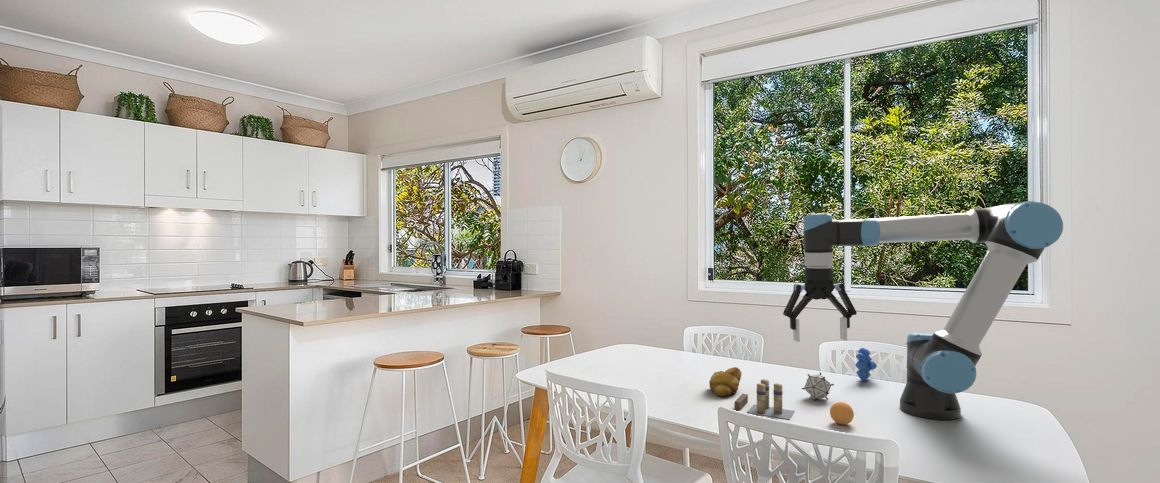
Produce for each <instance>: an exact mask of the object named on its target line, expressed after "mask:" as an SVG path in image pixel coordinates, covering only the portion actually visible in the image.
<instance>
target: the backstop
mask: <svg viewBox="0 0 1160 483" xmlns="http://www.w3.org/2000/svg"><path fill="white" fill-rule="evenodd" d="M748 396H749V395H748V394H747V393H742V394H741V395H740V396H738V398H737V399H736V400H735V401H734V411H739V412H740V411H741V410H742V409H743V408H744V407H745V406H746V405H747V404H748V402H749V400H748V399H749V397H748Z"/></svg>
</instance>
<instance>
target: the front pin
mask: <svg viewBox="0 0 1160 483" xmlns="http://www.w3.org/2000/svg"><path fill="white" fill-rule="evenodd" d="M783 392H784V391H783V384H781V383H773V393H772V394H773V407H774V413H776V414H782V409H783Z"/></svg>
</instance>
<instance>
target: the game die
mask: <svg viewBox="0 0 1160 483" xmlns="http://www.w3.org/2000/svg"><path fill="white" fill-rule="evenodd" d="M807 376H808V378H807V379H806V383H805V385H804V387H802V388H801V390H805V391H806V392H807V394H809V395H810V397H812V398H813V401H814V402H816V400H817V399H825V400H829V397H827V396H828V395H830V389H831V387H832V386H834V385H835V384H834V383H831V382H829V381H828V379H826V377H825V376H823V375H822V372H820V373H819V374H814V375H813V374H812V375H810V374H809V373H807Z"/></svg>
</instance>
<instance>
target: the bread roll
mask: <svg viewBox="0 0 1160 483" xmlns="http://www.w3.org/2000/svg"><path fill="white" fill-rule="evenodd" d="M742 374H743V373H742V371H741V369H740V368H739V367H736V366H735V367H731V368H727V369H726V370H725V371H723V370H719V371H715V372H713V374H712V375H711V377H710V380H709V388H710V391H711V392H713V393H715V395H717V396H719V397H728V396H730V395H731V394H735V393H737V392H738V390H739V386H740V381H741V379H742Z"/></svg>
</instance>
